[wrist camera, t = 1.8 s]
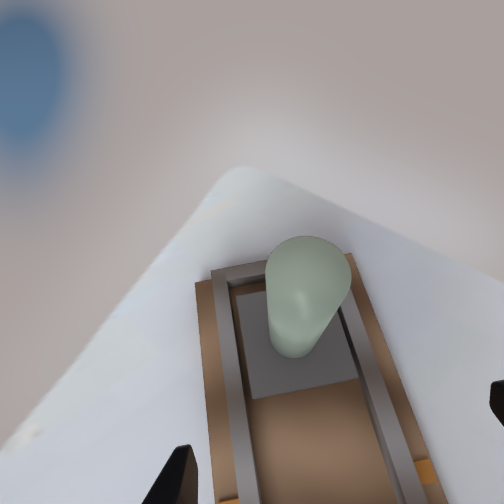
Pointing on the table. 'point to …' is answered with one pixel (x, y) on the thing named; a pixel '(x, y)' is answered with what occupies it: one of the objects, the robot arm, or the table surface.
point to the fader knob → (297, 320)
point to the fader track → (308, 414)
